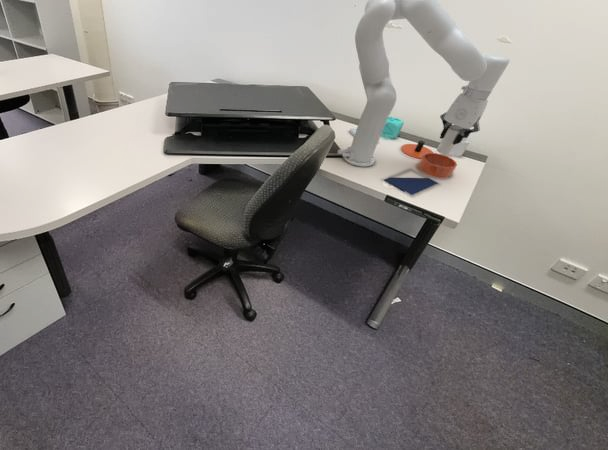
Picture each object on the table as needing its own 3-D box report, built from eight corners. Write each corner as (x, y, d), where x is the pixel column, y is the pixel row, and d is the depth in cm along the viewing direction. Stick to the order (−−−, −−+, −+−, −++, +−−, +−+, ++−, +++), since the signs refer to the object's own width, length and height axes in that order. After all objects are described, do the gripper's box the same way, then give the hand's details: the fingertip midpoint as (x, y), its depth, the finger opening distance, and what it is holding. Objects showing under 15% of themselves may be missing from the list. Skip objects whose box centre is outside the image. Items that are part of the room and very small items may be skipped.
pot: (426, 178, 132) (432, 168, 129) (412, 162, 141) (417, 152, 138) (456, 179, 132) (463, 168, 129) (440, 163, 141) (446, 153, 138)
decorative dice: (393, 141, 156) (400, 125, 151) (376, 136, 160) (382, 120, 155) (398, 135, 161) (405, 119, 156) (381, 130, 165) (387, 115, 160)
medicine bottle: (461, 157, 146) (476, 132, 138) (444, 155, 147) (458, 130, 139) (455, 149, 151) (469, 125, 143) (438, 148, 152) (452, 123, 144)
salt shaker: (440, 153, 129) (454, 129, 122) (434, 148, 132) (447, 124, 126) (451, 154, 129) (466, 129, 122) (445, 148, 133) (459, 124, 126)
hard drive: (350, 128, 162) (362, 140, 153) (365, 128, 163) (378, 139, 154) (349, 131, 163) (361, 143, 154) (364, 131, 164) (377, 142, 155)
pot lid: (408, 160, 143) (414, 148, 139) (395, 145, 153) (400, 134, 149) (438, 160, 143) (445, 149, 139) (423, 146, 153) (429, 135, 149)
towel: (411, 195, 122) (411, 195, 122) (384, 180, 130) (384, 179, 130) (437, 183, 129) (438, 183, 129) (410, 169, 137) (410, 168, 136)
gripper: (447, 87, 120) (423, 133, 132) (496, 103, 109) (465, 152, 121) (458, 84, 123) (434, 130, 135) (507, 100, 112) (476, 148, 124)
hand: (449, 140), depth 128 cm, fingers closed on salt shaker, 4 cm apart
